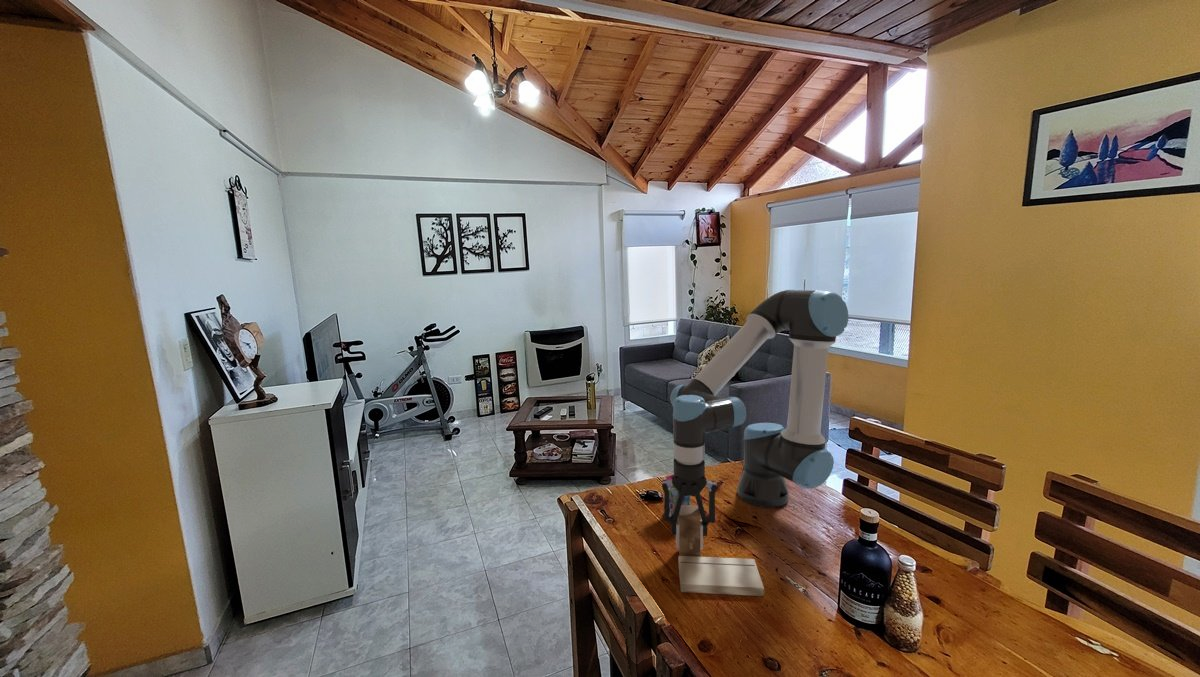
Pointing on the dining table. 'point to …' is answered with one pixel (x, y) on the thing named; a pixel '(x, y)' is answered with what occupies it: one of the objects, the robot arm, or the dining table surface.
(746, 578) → the board
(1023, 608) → the dining table surface
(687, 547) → the brown box
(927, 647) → the dining table surface
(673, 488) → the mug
